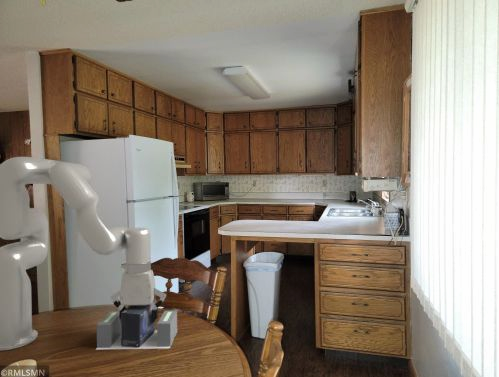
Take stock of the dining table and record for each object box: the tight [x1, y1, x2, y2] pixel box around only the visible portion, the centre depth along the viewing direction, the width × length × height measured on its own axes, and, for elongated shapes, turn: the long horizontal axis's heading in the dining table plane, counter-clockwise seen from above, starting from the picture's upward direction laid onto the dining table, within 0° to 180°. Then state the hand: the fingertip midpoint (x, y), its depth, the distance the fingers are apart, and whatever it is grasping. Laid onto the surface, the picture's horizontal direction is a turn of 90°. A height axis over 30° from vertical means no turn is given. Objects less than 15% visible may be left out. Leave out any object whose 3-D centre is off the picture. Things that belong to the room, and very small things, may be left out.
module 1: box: [96, 310, 122, 348], centre depth 102 cm, size 4×10×7 cm, turn 1°
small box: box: [121, 305, 156, 347], centre depth 102 cm, size 11×6×10 cm, turn 171°
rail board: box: [95, 329, 178, 351], centre depth 103 cm, size 22×12×2 cm, turn 91°
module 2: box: [156, 310, 178, 348], centre depth 103 cm, size 4×10×7 cm, turn 1°
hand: (138, 321), depth 102 cm, fingers open, 9 cm apart
